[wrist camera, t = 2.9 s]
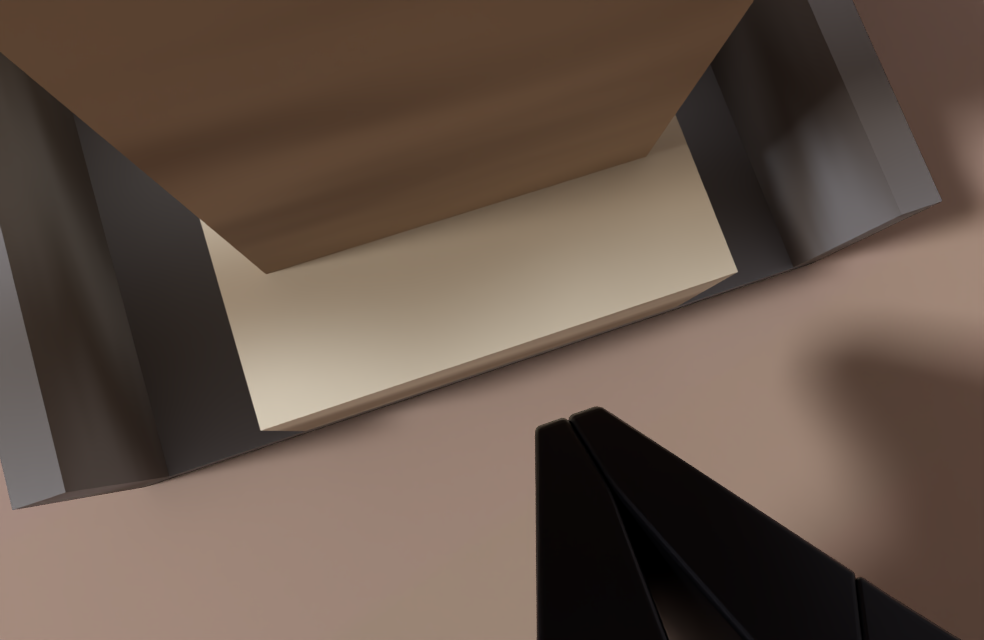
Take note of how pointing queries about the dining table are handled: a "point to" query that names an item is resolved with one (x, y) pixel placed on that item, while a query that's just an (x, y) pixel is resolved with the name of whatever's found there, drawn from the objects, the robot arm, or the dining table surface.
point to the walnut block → (364, 101)
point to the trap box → (410, 265)
